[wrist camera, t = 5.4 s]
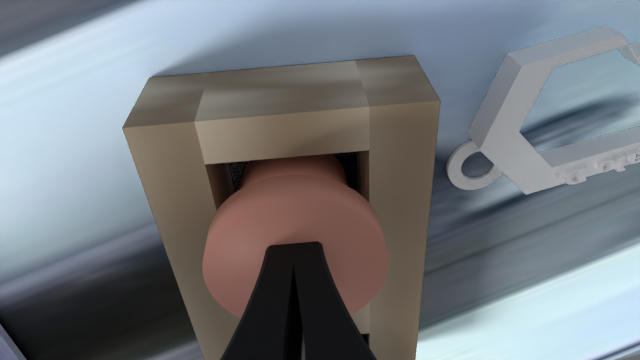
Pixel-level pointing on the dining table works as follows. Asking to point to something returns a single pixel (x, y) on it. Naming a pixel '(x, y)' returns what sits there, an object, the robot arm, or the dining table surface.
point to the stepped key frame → (514, 106)
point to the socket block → (291, 141)
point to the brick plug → (294, 229)
